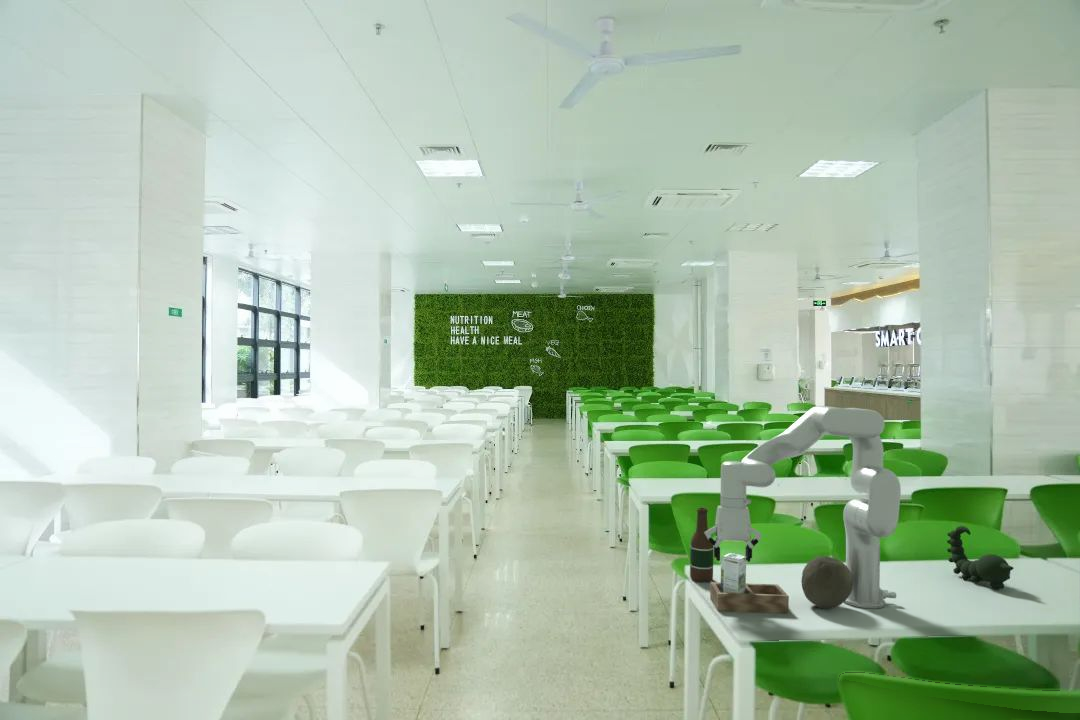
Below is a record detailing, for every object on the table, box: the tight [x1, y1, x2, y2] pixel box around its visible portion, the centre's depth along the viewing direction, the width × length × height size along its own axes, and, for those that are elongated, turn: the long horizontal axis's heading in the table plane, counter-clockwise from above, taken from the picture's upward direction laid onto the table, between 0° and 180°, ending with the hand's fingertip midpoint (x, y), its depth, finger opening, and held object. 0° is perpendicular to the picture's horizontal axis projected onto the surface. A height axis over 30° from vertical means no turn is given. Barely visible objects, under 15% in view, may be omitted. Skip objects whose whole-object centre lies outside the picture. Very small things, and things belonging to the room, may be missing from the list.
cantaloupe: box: [800, 555, 853, 610], centre depth 204 cm, size 14×14×15 cm
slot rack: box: [709, 581, 790, 614], centre depth 205 cm, size 21×11×5 cm, turn 87°
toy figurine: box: [946, 525, 1014, 591], centre depth 230 cm, size 9×19×25 cm
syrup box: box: [720, 552, 747, 593], centre depth 205 cm, size 6×6×14 cm
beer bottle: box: [689, 507, 714, 583], centre depth 230 cm, size 8×8×24 cm
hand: (732, 560), depth 205 cm, fingers open, 8 cm apart
